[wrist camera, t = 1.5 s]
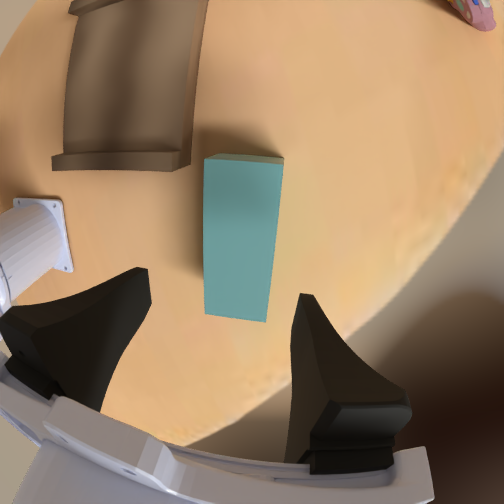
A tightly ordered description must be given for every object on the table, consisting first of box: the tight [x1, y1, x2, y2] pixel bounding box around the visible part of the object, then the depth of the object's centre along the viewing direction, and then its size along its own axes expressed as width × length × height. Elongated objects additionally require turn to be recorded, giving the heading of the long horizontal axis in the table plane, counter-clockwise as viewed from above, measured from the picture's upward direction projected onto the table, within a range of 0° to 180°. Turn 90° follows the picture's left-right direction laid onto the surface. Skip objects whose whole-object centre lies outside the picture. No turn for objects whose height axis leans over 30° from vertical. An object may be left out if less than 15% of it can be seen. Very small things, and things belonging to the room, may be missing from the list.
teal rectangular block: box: [203, 153, 284, 322], centre depth 19 cm, size 4×11×4 cm, turn 176°
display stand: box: [51, 0, 209, 172], centre depth 14 cm, size 11×15×4 cm
